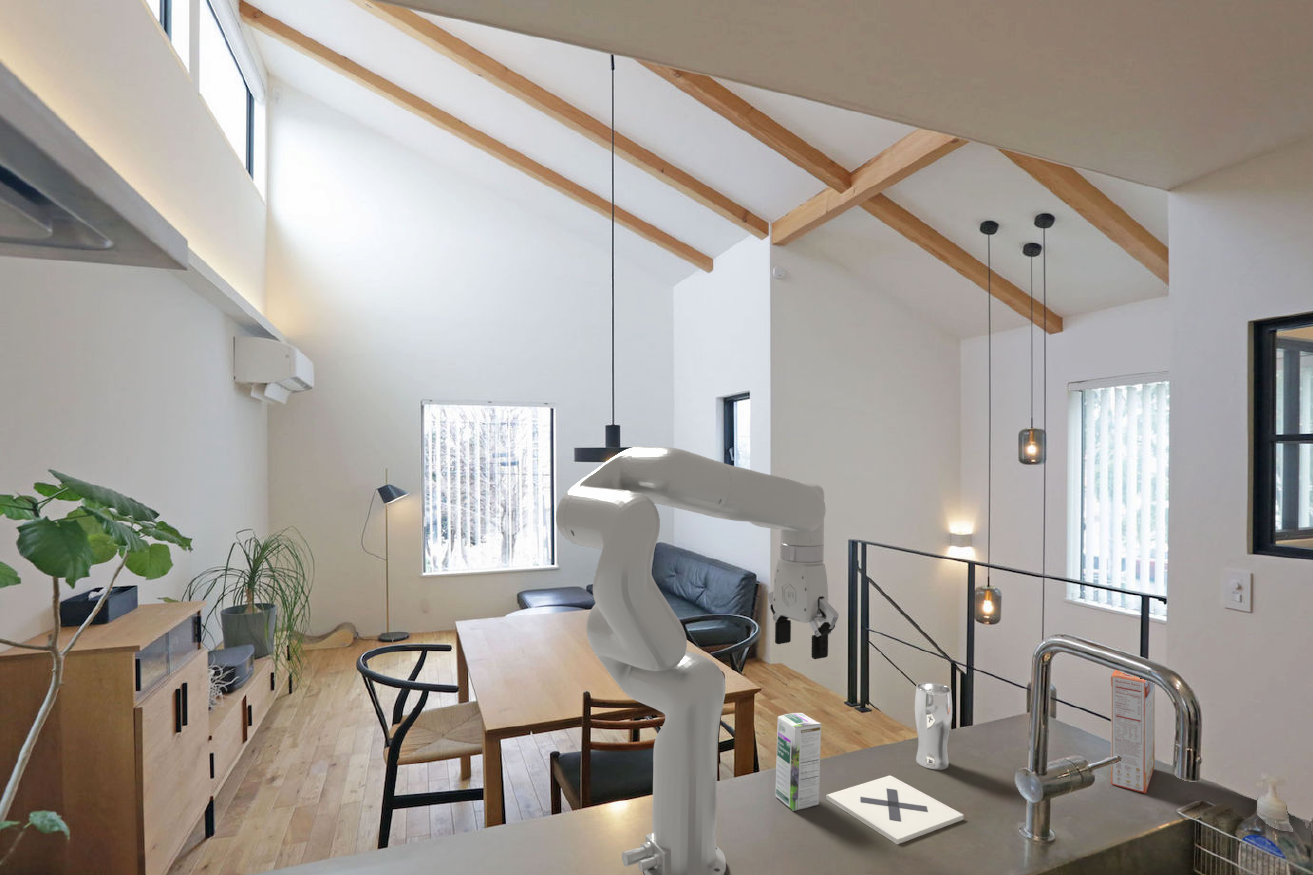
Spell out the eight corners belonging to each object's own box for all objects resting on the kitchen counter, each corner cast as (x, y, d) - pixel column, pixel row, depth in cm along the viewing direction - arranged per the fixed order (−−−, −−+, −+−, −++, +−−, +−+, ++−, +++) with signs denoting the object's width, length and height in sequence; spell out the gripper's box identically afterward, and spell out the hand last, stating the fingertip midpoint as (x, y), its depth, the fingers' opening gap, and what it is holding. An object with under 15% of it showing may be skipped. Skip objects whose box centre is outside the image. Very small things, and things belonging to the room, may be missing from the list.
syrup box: (774, 796, 127) (775, 715, 127) (801, 790, 130) (802, 710, 130) (793, 812, 122) (794, 727, 122) (820, 805, 125) (822, 722, 125)
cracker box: (1119, 759, 145) (1121, 657, 145) (1155, 769, 141) (1157, 663, 141) (1107, 784, 134) (1109, 673, 134) (1146, 795, 130) (1148, 680, 130)
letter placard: (897, 844, 113) (897, 838, 113) (826, 799, 127) (826, 794, 127) (963, 819, 121) (963, 814, 121) (890, 779, 135) (890, 774, 135)
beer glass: (954, 772, 138) (955, 695, 138) (916, 768, 139) (917, 692, 139) (947, 757, 145) (948, 683, 145) (911, 753, 146) (912, 680, 146)
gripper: (754, 548, 132) (753, 640, 132) (819, 563, 117) (818, 667, 117) (786, 545, 136) (785, 635, 136) (853, 559, 121) (851, 660, 121)
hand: (800, 650), depth 126 cm, fingers open, 9 cm apart
